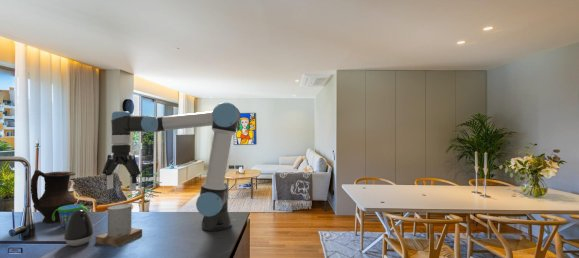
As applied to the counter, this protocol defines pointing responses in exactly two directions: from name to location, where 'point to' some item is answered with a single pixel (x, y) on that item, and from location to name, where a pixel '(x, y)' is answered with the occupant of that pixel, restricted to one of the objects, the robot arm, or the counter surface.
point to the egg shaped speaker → (78, 228)
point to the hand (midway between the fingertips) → (121, 189)
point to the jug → (52, 194)
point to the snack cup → (67, 212)
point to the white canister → (119, 220)
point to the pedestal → (118, 238)
